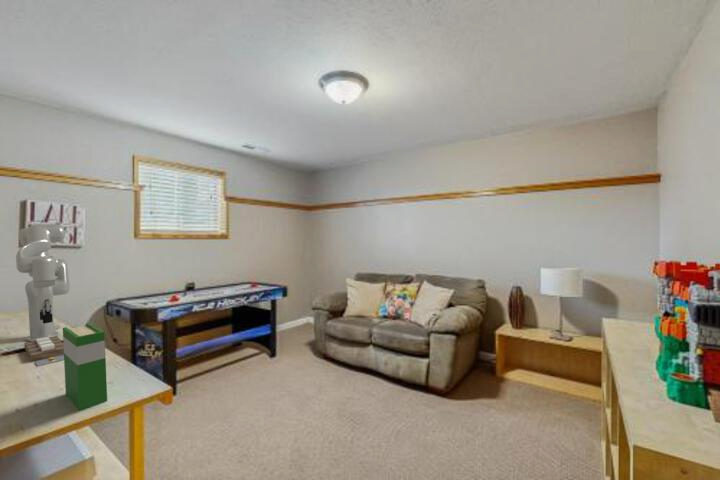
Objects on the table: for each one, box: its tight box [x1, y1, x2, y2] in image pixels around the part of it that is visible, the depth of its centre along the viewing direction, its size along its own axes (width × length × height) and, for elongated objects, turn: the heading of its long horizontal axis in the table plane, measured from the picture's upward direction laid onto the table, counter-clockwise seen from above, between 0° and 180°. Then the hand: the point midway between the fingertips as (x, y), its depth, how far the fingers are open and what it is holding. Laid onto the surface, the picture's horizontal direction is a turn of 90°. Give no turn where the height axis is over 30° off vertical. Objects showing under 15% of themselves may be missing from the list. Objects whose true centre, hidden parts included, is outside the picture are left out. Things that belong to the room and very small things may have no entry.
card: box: [34, 355, 64, 367], centre depth 148 cm, size 7×10×1 cm
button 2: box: [40, 343, 55, 351], centre depth 155 cm, size 4×4×2 cm
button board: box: [23, 335, 64, 363], centre depth 159 cm, size 26×12×3 cm, turn 50°
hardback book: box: [62, 322, 108, 412], centre depth 115 cm, size 18×7×24 cm, turn 53°
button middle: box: [38, 340, 52, 348], centre depth 159 cm, size 4×4×2 cm
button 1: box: [36, 337, 50, 344], centre depth 164 cm, size 4×4×2 cm
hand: (46, 320), depth 154 cm, fingers open, 8 cm apart
